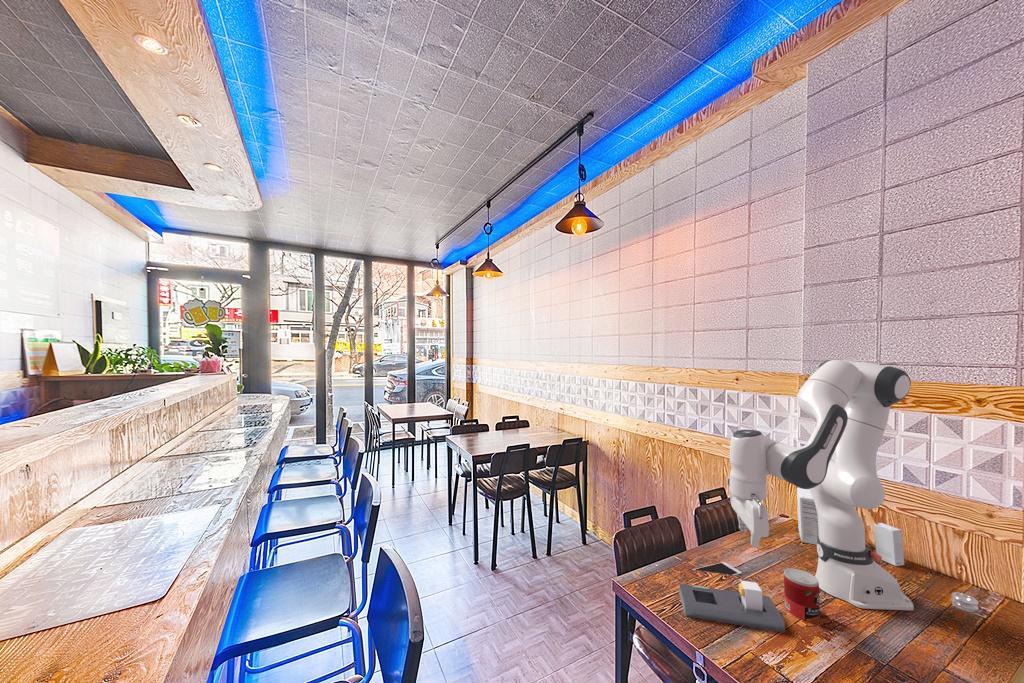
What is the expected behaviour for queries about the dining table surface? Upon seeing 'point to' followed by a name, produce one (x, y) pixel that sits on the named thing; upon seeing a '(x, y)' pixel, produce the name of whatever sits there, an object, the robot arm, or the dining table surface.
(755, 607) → the plug
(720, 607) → the panel
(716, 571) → the smartphone
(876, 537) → the skincare box
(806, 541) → the supplement box
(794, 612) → the canned food
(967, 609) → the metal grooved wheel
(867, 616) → the dining table surface
